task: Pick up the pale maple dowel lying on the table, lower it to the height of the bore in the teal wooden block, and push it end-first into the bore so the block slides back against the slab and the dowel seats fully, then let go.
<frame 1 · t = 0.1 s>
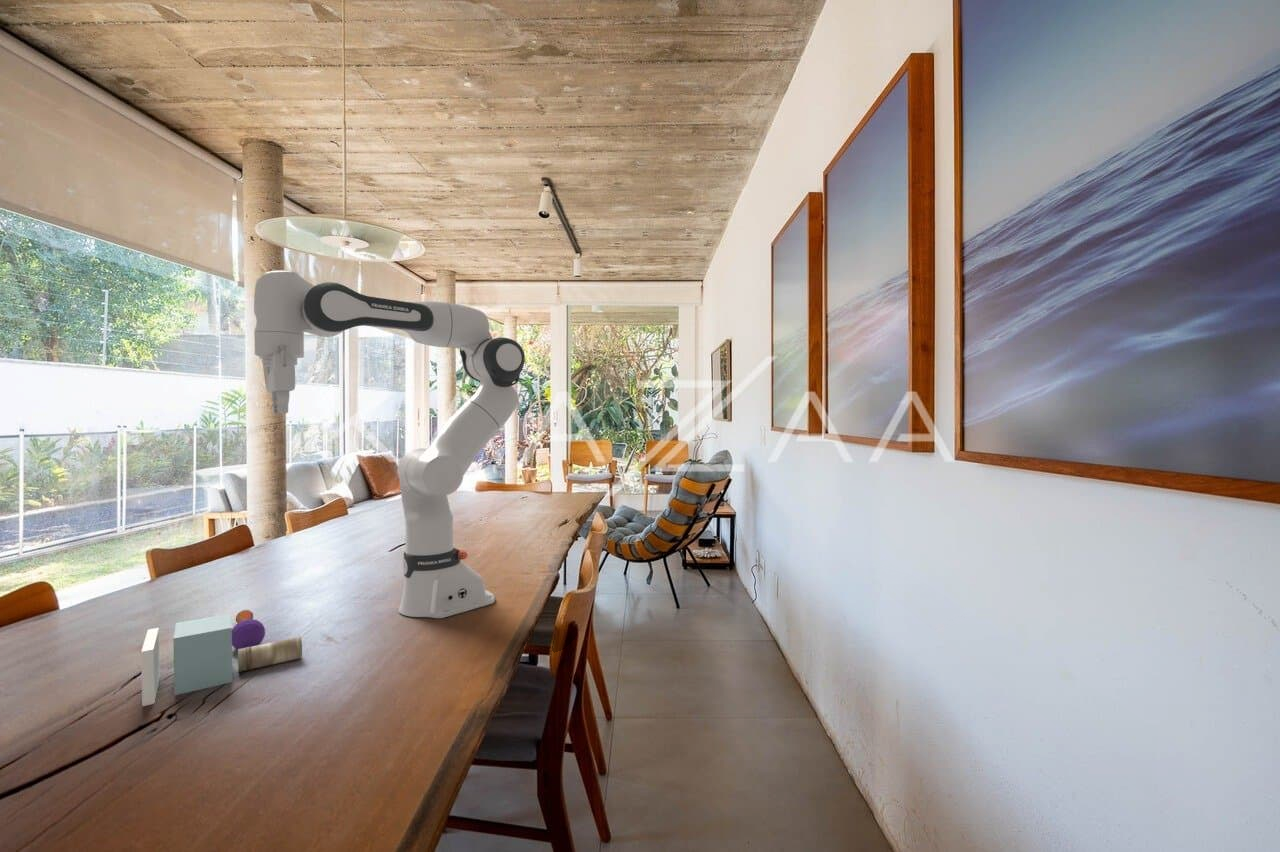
hand: (280, 413, 120), 48 cm above the table, tool pointing down, fingers open, 8 cm apart
slab: (151, 690, 98), on the table
dowel: (270, 664, 108), on the table
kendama: (246, 639, 121), on the table
block: (204, 652, 102), point 5 cm above the table, slide at 0.0 cm
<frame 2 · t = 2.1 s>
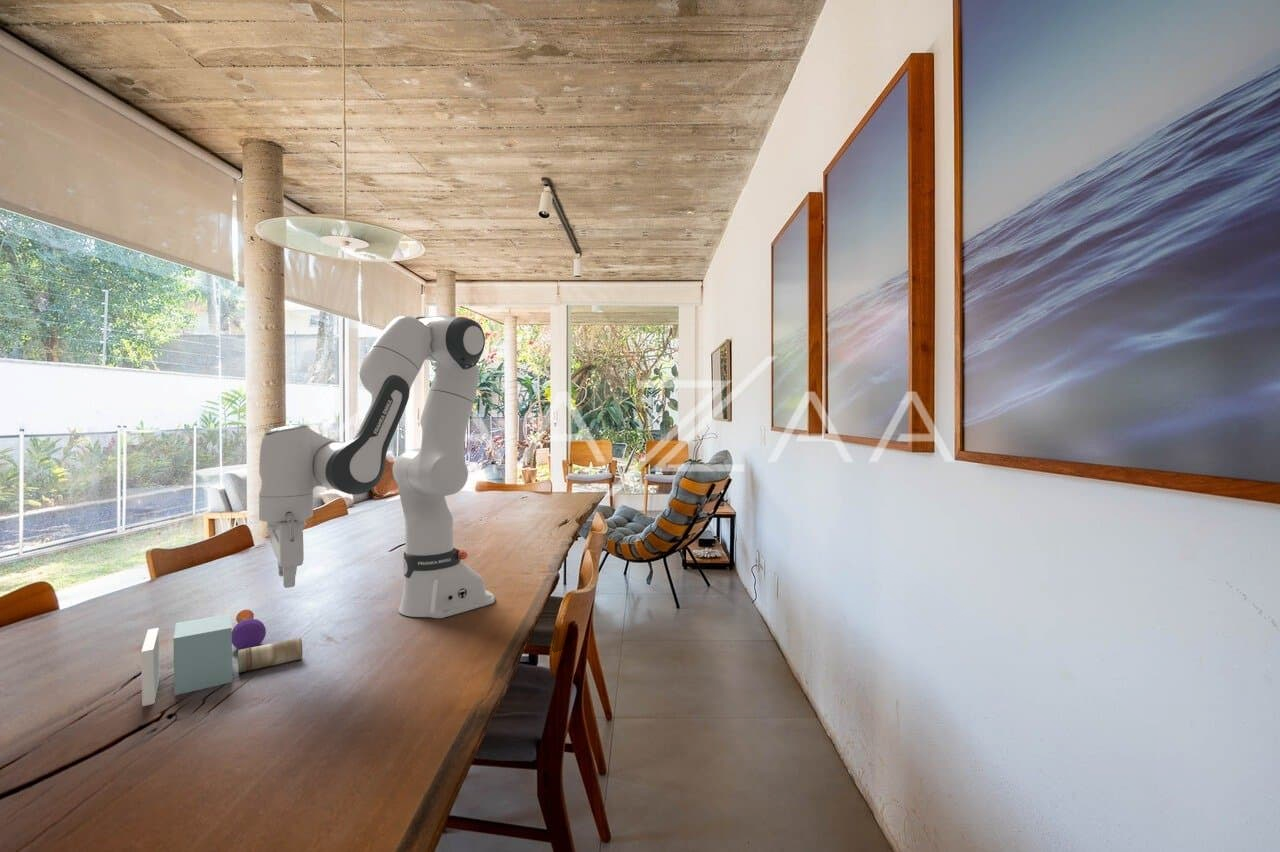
hand: (286, 580, 109), 16 cm above the table, tool pointing down, fingers open, 8 cm apart
dowel: (270, 663, 108), on the table, tilted 14°
everything else where it was.
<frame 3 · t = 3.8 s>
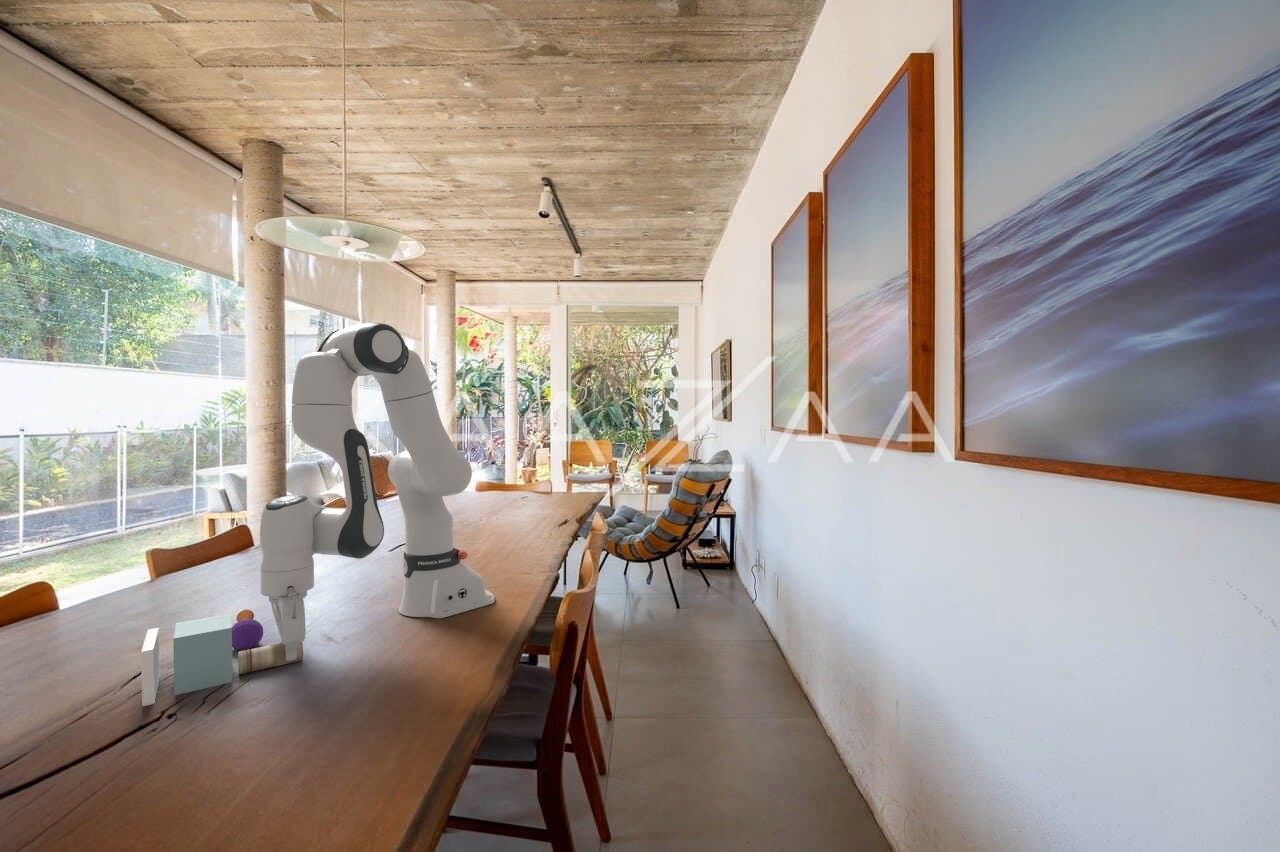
hand: (288, 651, 110), 2 cm above the table, tool pointing down, fingers open, 7 cm apart
dowel: (270, 662, 108), on the table, tilted 37°, touching gripper
everything else where it was.
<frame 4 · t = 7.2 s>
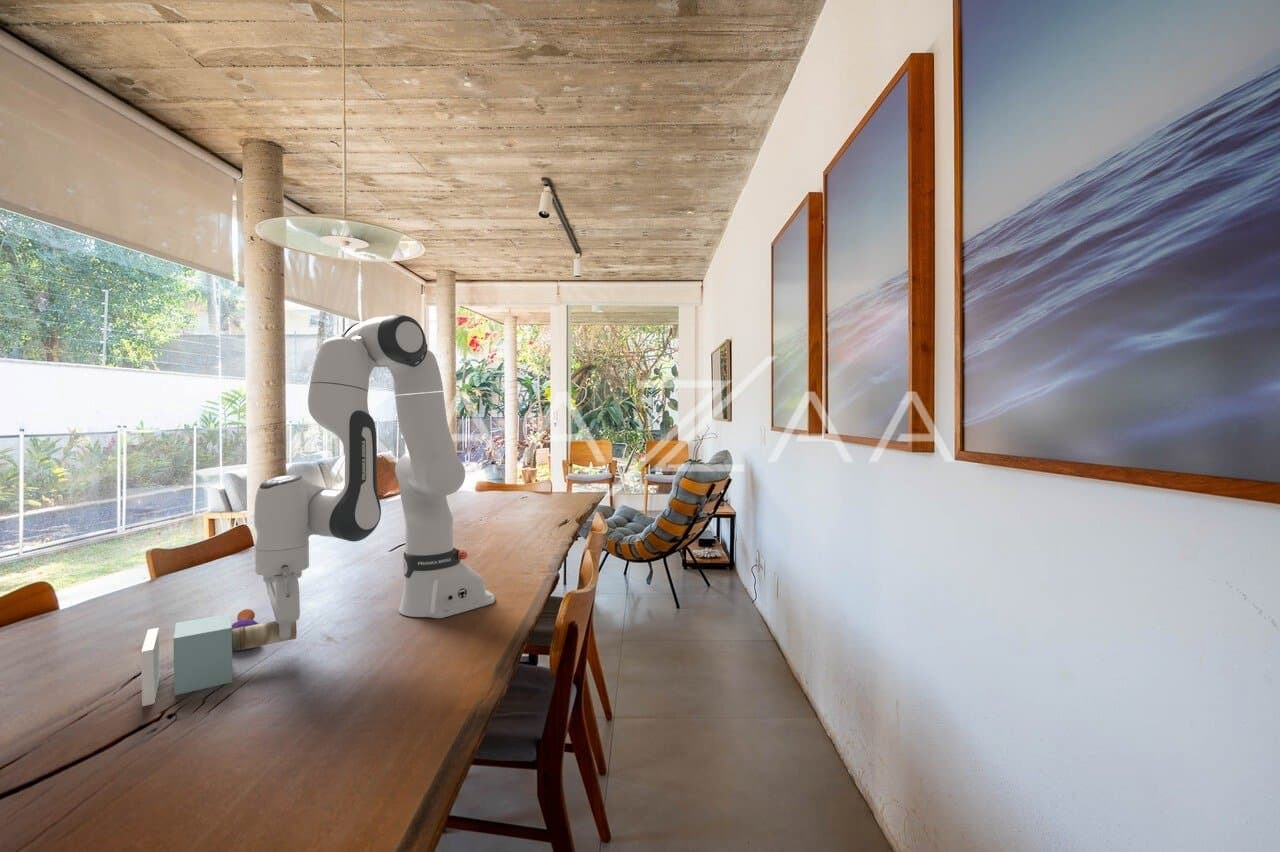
hand: (283, 632, 109), 6 cm above the table, tool pointing down, fingers closed on dowel, 4 cm apart
dowel: (264, 644, 108), point 4 cm above the table, touching gripper
everything else where it was.
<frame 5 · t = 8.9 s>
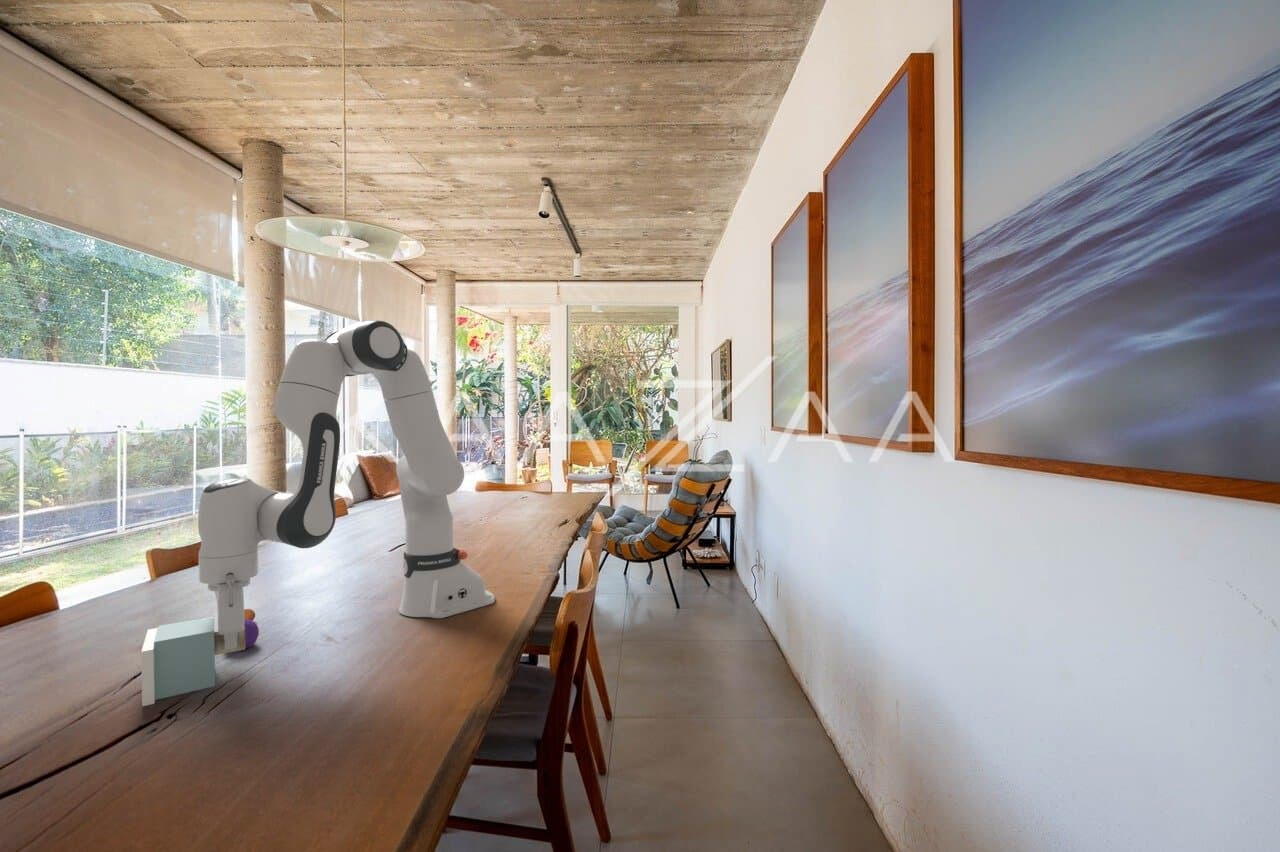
hand: (230, 642, 104), 6 cm above the table, tool pointing down, fingers closed on dowel, 4 cm apart
dowel: (211, 655, 103), point 4 cm above the table, touching block, gripper
block: (186, 655, 100), point 5 cm above the table, slide at 2.5 cm, touching dowel, slab
everything else where it was.
when the fingers open (6 cm above the table, at t = 10.3 s): dowel stays where it is, resting on block.
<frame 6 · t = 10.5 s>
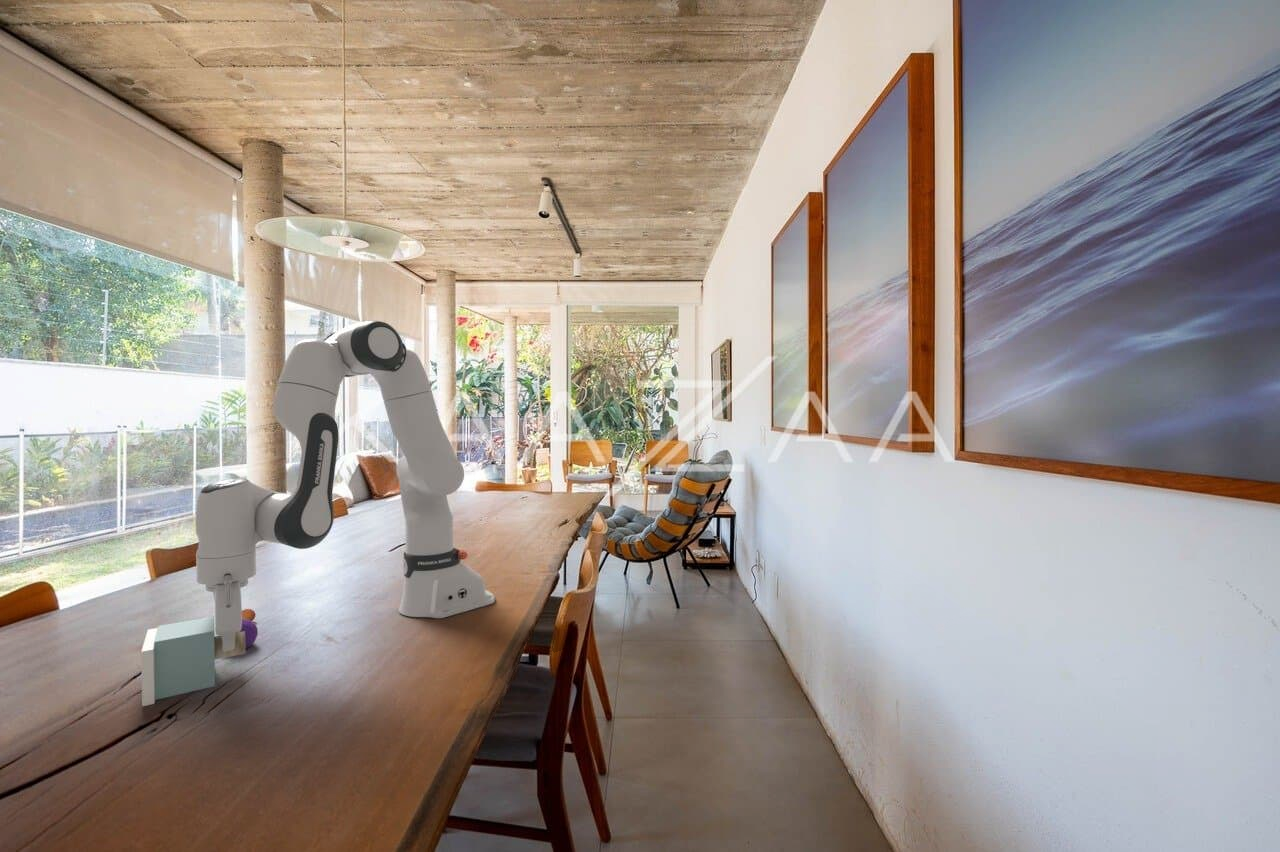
hand: (228, 643, 104), 6 cm above the table, tool pointing down, fingers open, 6 cm apart
dowel: (211, 659, 103), point 3 cm above the table, touching block
block: (186, 655, 100), point 5 cm above the table, slide at 2.5 cm, touching dowel
everything else where it was.
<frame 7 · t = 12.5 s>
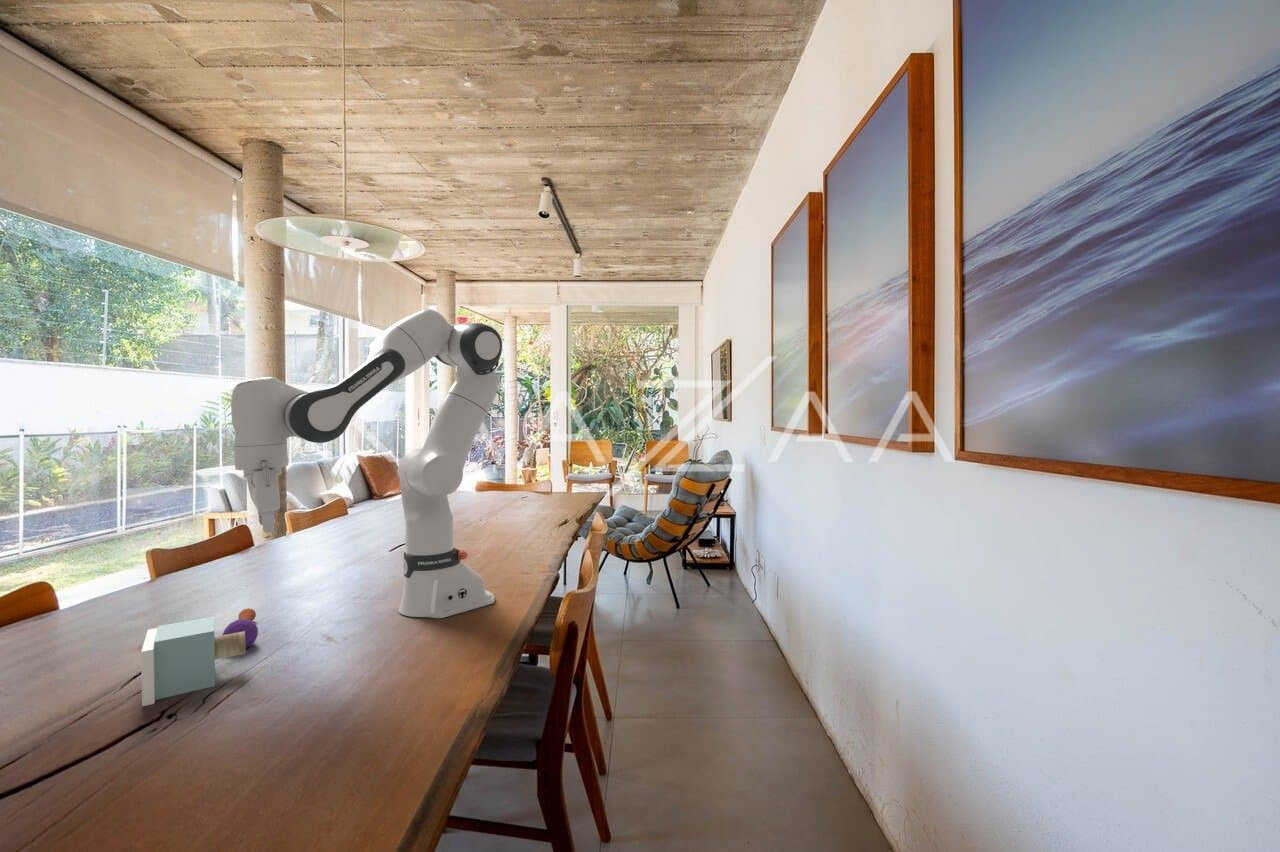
hand: (266, 527, 113), 25 cm above the table, tool pointing down, fingers open, 8 cm apart
nothing on the table moved.
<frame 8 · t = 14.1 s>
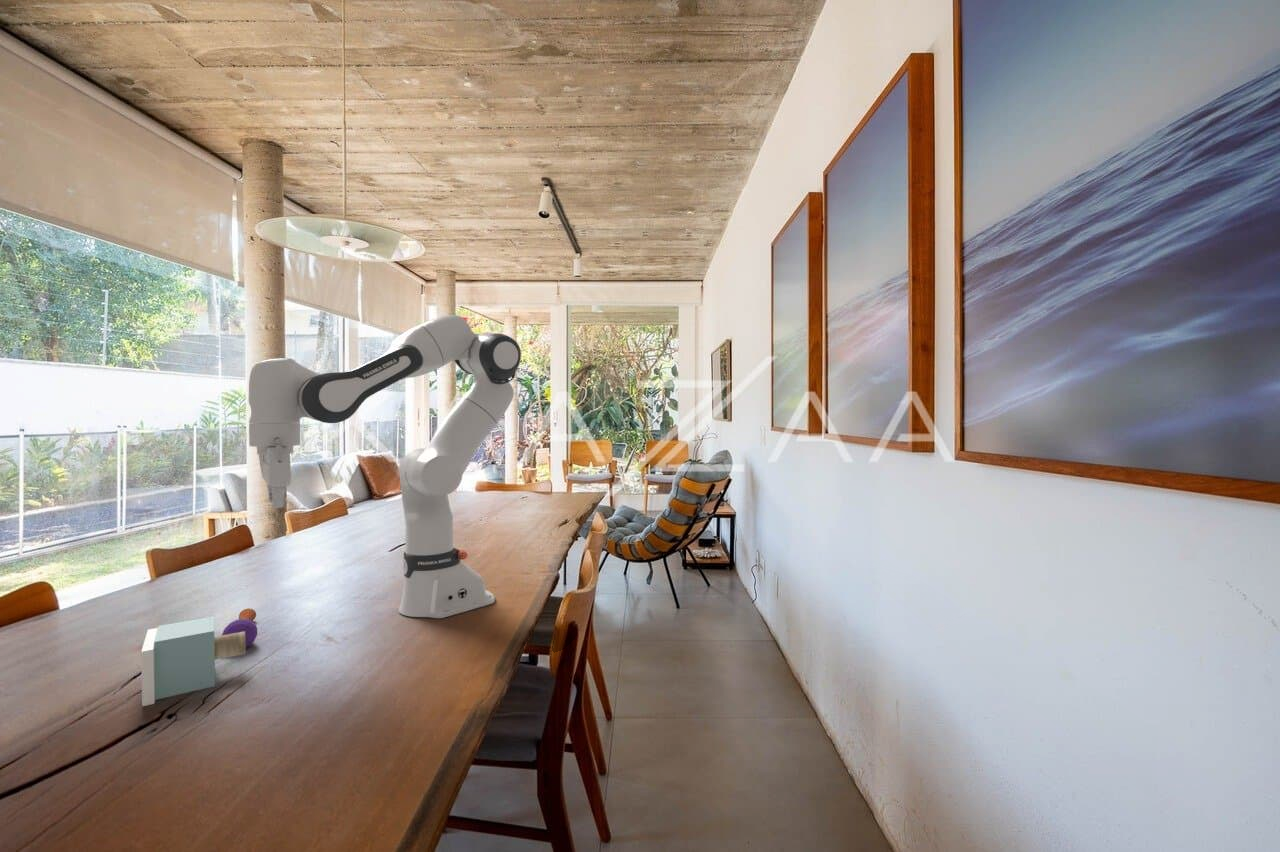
hand: (276, 504, 117), 29 cm above the table, tool pointing down, fingers open, 8 cm apart
at the end: block slide at 2.5 cm; dowel 0.5 cm from the target spot on the block, point 3.3 cm above the block's base; the gripper is holding nothing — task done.
